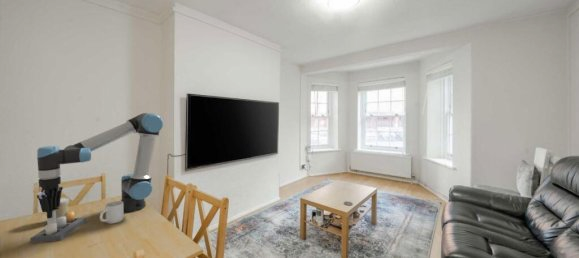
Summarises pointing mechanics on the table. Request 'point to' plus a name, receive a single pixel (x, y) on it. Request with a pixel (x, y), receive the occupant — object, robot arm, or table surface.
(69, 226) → the panel
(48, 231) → the white rounded block
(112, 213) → the mug
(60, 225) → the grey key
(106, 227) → the table surface
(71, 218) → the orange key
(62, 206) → the coffee cup
